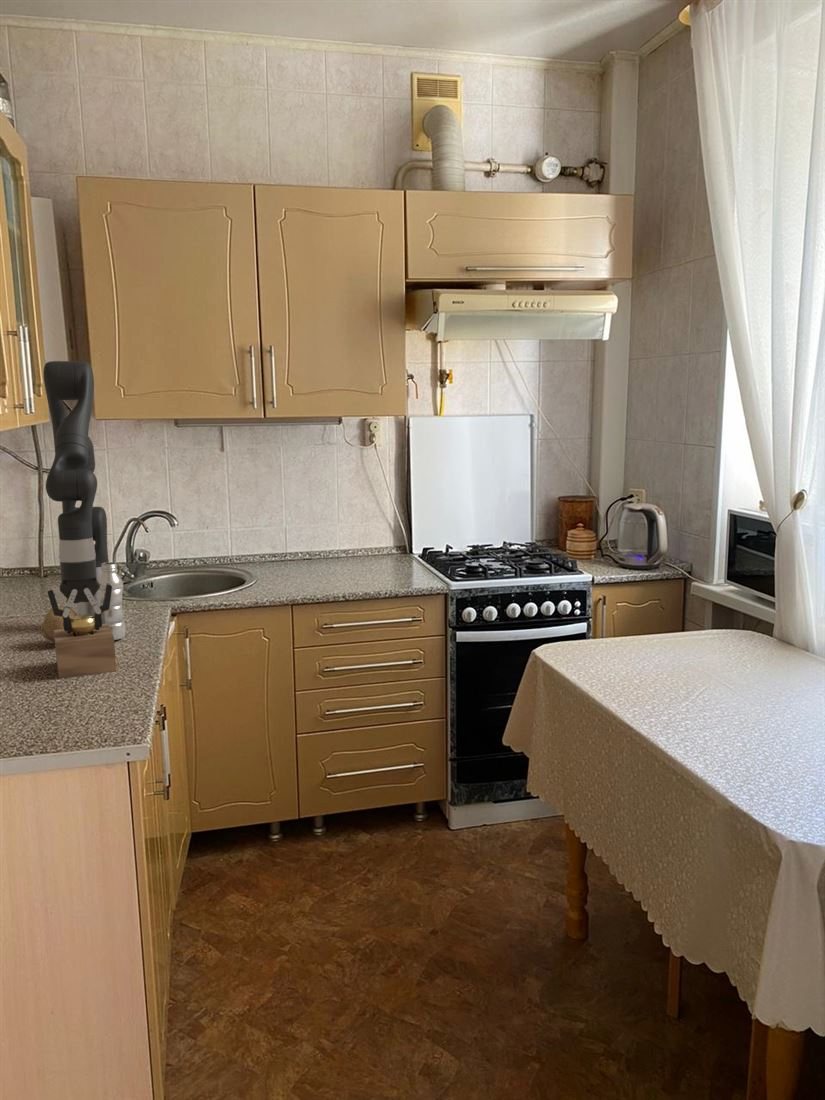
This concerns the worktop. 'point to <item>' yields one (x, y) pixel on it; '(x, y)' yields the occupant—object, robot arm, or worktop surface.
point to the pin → (82, 624)
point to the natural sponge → (53, 624)
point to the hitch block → (85, 652)
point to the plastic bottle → (113, 600)
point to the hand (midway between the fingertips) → (83, 630)
